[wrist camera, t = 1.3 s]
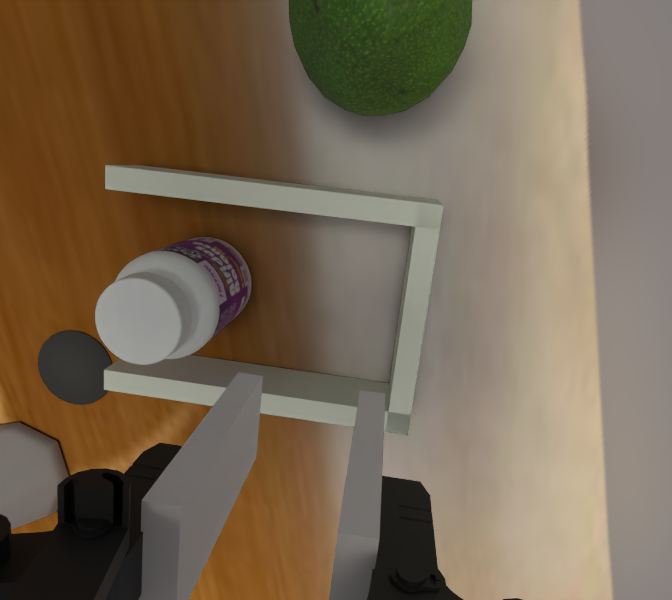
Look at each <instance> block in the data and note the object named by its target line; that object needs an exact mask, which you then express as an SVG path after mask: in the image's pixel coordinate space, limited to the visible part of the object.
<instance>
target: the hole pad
mask: <svg viewBox="0 0 672 600" xmlns="http://www.w3.org/2000/svg"><path fill="white" fill-rule="evenodd" d="M110 365H112V362H111V359H110V357H109V355H108V353H107V351H106V350H105V348H104V347H103V346H102V345H101V344H100V343H99V342H98V341H97V340H96V339H94V338H93V337H91V336H89V335H87V334H85V333H82V332H78V331H63V332H59V333H57V334H55V335H53V336H51V337H50V338H49V339H48V340H47V341H46V342H45V343H44V344H43V346H42V348H41V350H40V353H39V357H38V367H39V372H40V375H41V378H42V380H43V382H44V383H45V385H46V386H47V388H48V389H49V390H50V391H51V392H52V393H53V394H54V395H56V396H57V397H58V398H60V399H62V400H64V401H66V402H69V403H73V404H80V405H81V404H90V403H93V402H95V401H97V400H99V399H100V398H102V397H103V396H104V395H105V394H106V393H107V391H108V390H104V370H105V369H106V368H107V367H109V366H110Z"/></svg>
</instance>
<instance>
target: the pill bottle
mask: <svg viewBox="0 0 672 600" xmlns="http://www.w3.org/2000/svg"><path fill="white" fill-rule="evenodd" d="M250 293H251V275H250V271H249V269H248V266H247V264H246V262H245V260H244V259H243V257H242V256H241V254H240V253H239V252H238V251H237V250H236V249H235V248H234V247H233V246H231V245H230V244H228V243H226V242H224V241H222V240H220V239H216V238H212V237H197V238H193V239H189V240H186V241H182V242H179V243H176V244H173V245H170V246H167V247H165V248H162V249H158V250H155V251H152V252H148V253H146V254H143V255H141V256H139V257H138V258H136V259H134V260H132V261H131V262H130V263H128V264H127V265H126V266H125V267H124V268H123V269H122V271H121V272H120V273H119V275H118V276H117V278H116V280H115V282H114V283H112V284H111V285H110V286H108V287H107V288H106V289H105V290H104V292H103V293H102V294H101V295H100V297H99V299H98V302H97V305H96V310H95V322H96V328H97V331H98V334H99V336H100V338H101V340H102V341H103V343H104V344H105V345H106V347H107V348H108V349H109V350H110V351H111V352H112V353H113V354H114V355H116V356H117V357H119V358H120V359H122V360H124V361H127V362H129V363H133V364H139V365H148V364H153V363H157V362H159V361H162V360H164V359H177V358H182V357H185V356H188V355H190V354H192V353H194V352H196V351H198V350H199V349H201V348H202V347H203V346H204V345H205V344H206V343H208V342H209V341H210V340H211V339H212V338H213V337H214V336H216V335H217V334H218V333H219V332H220V331H221V330H222V329H223V328H224V327H226V326H227V325H228V324H229V323H230V322H231V321H232V320H233V319H234V318H235V317H236V316H237V315H238V314H239V313H240V312H241V311H242V310H243V309H244V307H245V305H246V304H247V302H248V299H249V297H250Z"/></svg>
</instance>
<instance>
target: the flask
mask: <svg viewBox="0 0 672 600" xmlns="http://www.w3.org/2000/svg"><path fill="white" fill-rule="evenodd" d="M67 477H69V476H68V473H67V470H66V466H65V463H64V460H63V457H62V454H61V451H60V448H59V444H58V442H57V441H55V440H53V439H51V438H49V437H47V436H45V435H44V434H42V433H40V432H38V431H36V430H34V429H32V428H30V427H28V426H26V425H24V424H22V423H20V422H16V423H9V424H1V425H0V514H2V515H4V516H6V517H7V518H8V520H9V522H10V523H11V530H12V529H14V528H17V527H19V526H22V525H25V524H27V523H30V522H33V521H35V520H38V519H40V518H43V517H46V516H48V515H50V514H53V513H55V512H57V509H58V499H57V485H58V484H59V483H61V482H62V481H63V480H64V479H65V478H67Z"/></svg>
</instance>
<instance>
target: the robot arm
mask: <svg viewBox="0 0 672 600" xmlns="http://www.w3.org/2000/svg"><path fill="white" fill-rule="evenodd" d="M262 383H263V376H259V375H253V374H246V373H239V372H238V374H237V375H236V376H235V378H234V379H233V380H232V382H231V383H230V384H229V386H228V387H227V388H226V390H225V391H224V392H223V393H222V395H221V396H220V397H219V399H218V400H217V401H216V403H215V404H214V405H213V407H212V408H211V409H210V411H209V412H208V413H207V415H206V416H205V417H204V419H203V420H202V421H201V423H200V424H199V425H198V427H197V428H196V429H195V430H194V432H193V433H192V434H191V436H190V437H189V438H188V440H187V441H186V442H185V444H184V445H183V446H178V445H171V444H165V443H159V444H157V445H155V446H153V447H151V448H149V449H148V450H146V451H144V452H143V453H142V454H141V455H140V456H139V457H138V458H137V459H136V461H135V462H134V463H133V465H132V466H130V467H129V469H128V470H127V471H126V472H125V473H124V474H123V473H121V472H119V471H116V470H111V469H90V470H86V471H81V472H77V473H75V474H73V475H71V476H69V477H67V478H65V479H64V480H63V481H62V482H61V483H59V484H58V485H57V499H58V524H57V526H56V527H55V528H54V530H53V531H46V532H36V533H20V534H11V523H10V522H9V520H8V518H7V517H6V516H4V515H2V514H0V600H138V599H139V600H189V598H190V596H191V593H192V591H193V589H194V587H195V585H196V583H197V581H198V579H199V577H200V575H201V572H202V570H203V568H204V566H205V564H206V562H207V560H208V558H209V556H210V553H211V551H212V549H213V547H214V545H215V543H216V541H217V539H218V537H219V535H220V532H221V530H222V528H223V526H224V524H225V522H226V520H227V518H228V516H229V514H230V511H231V509H232V507H233V505H234V503H235V501H236V499H237V497H238V495H239V493H240V490H241V488H242V486H243V484H244V482H245V480H246V478H247V476H248V474H249V471H250V469H251V467H252V465H253V463H254V461H255V459H256V455H257V443H258V431H259V419H260V407H261V395H262ZM384 417H385V394H384V393H377V392H370V391H363V390H360V393H359V400H358V406H357V412H356V419H355V425H354V432H353V438H352V445H351V451H350V457H349V464H348V470H347V477H346V483H345V490H344V496H343V502H342V509H341V515H340V522H339V528H338V535H337V543H336V550H335V558H334V566H333V574H332V582H331V589H330V597H329V600H463V599H461V598H460V597H458V596H457V595H456V594H455V593H453V592H452V591H451V590H450V589H449V588H448V587H447V586H446V582H445V578H444V577H443V575H442V574H441V572H440V571H439V569H438V567H437V557H436V548H435V538H434V529H433V524H432V523H433V520H432V512H431V501H430V495H429V493H428V492H427V491H426V489H425V488H424V486H423V485H422V484H421V482H418V481H412V480H405V479H399V478H393V477H386V476H382V465H383V441H384ZM503 600H522V599H517V598H514V599H503Z"/></svg>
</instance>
